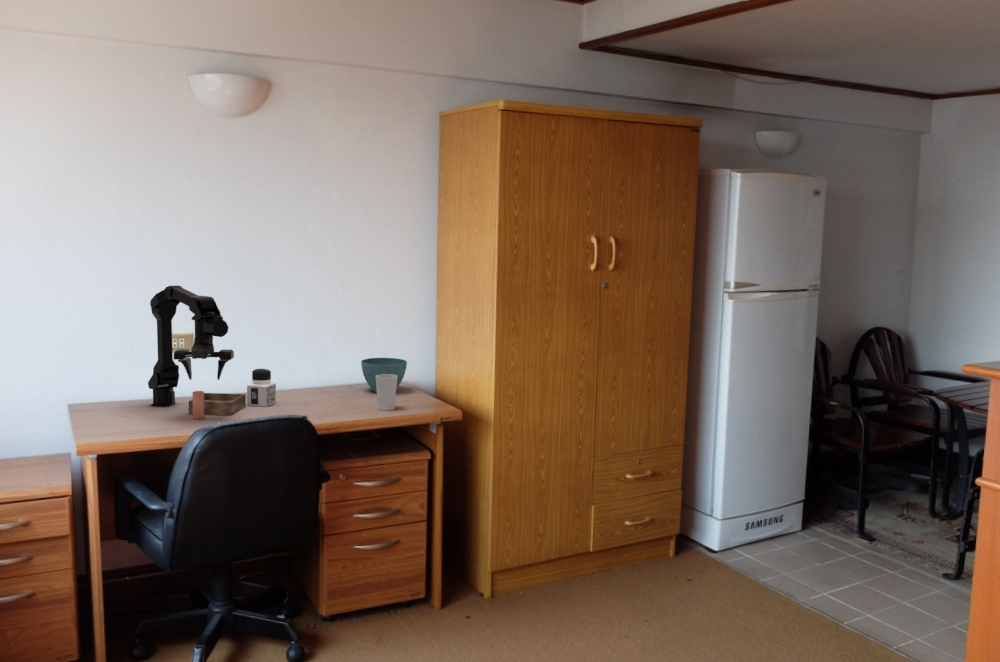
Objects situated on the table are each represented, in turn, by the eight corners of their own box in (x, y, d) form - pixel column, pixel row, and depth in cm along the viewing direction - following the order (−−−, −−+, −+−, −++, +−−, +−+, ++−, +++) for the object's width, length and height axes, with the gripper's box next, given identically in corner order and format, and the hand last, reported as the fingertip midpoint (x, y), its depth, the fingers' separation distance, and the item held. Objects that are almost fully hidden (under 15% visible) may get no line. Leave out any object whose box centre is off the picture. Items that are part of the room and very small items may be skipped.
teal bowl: (414, 389, 351) (415, 360, 350) (391, 397, 335) (391, 366, 333) (376, 385, 358) (377, 356, 357) (352, 392, 342) (352, 362, 340)
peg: (191, 419, 289) (190, 392, 288) (195, 416, 293) (194, 390, 292) (201, 419, 289) (201, 393, 288) (205, 417, 293) (205, 391, 292)
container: (266, 407, 311) (266, 371, 310) (246, 405, 313) (246, 370, 311) (276, 402, 319) (276, 368, 317) (257, 401, 320) (256, 367, 319)
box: (188, 413, 297) (188, 401, 296) (204, 404, 312) (204, 392, 311) (231, 415, 296) (231, 402, 296) (245, 406, 311) (245, 394, 311)
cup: (401, 407, 317) (401, 375, 315) (389, 411, 309) (390, 378, 308) (382, 405, 320) (383, 373, 318) (370, 408, 313) (371, 376, 311)
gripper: (168, 336, 281) (169, 383, 283) (227, 337, 283) (228, 383, 285) (177, 332, 292) (178, 377, 294) (233, 333, 294) (234, 378, 296)
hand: (204, 379), depth 292 cm, fingers open, 9 cm apart
